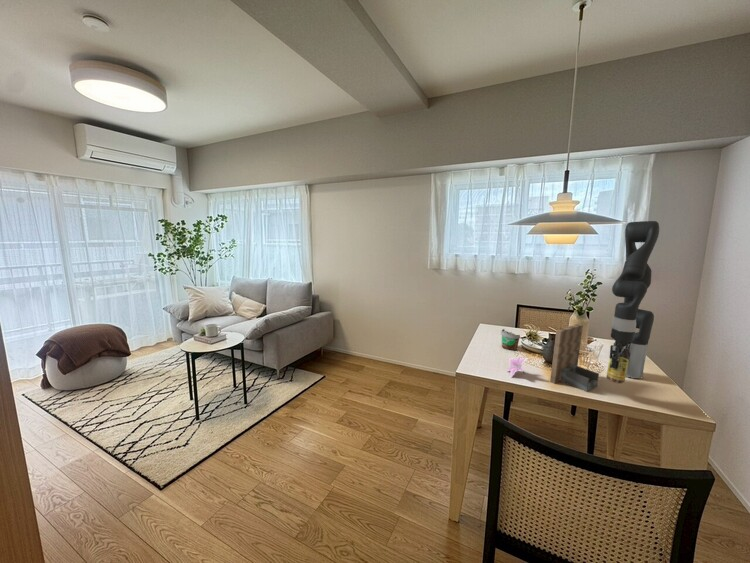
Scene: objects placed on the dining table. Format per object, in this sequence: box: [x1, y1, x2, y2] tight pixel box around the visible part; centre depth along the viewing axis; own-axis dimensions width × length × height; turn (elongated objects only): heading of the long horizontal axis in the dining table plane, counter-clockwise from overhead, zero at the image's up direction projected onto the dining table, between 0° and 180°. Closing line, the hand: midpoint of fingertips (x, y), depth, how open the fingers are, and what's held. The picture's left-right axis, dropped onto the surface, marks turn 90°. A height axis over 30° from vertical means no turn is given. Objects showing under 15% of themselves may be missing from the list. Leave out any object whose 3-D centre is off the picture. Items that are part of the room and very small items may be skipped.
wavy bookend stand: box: [549, 323, 600, 392], centre depth 137 cm, size 20×13×25 cm, turn 121°
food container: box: [500, 328, 521, 352], centre depth 178 cm, size 12×6×10 cm, turn 25°
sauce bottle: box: [606, 341, 630, 385], centre depth 126 cm, size 7×6×20 cm
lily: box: [506, 354, 528, 378], centre depth 146 cm, size 12×12×10 cm
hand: (617, 365), depth 126 cm, fingers closed on sauce bottle, 6 cm apart
